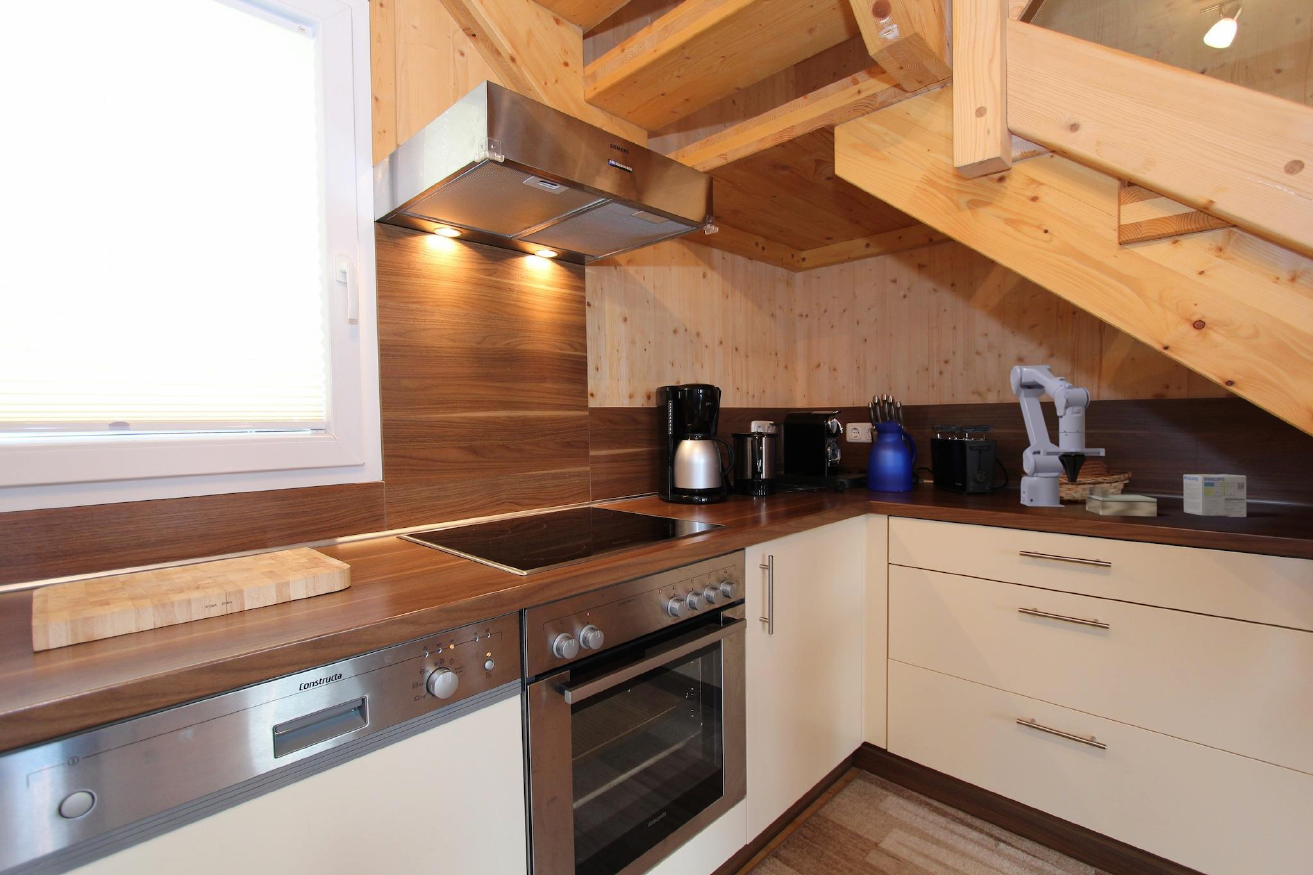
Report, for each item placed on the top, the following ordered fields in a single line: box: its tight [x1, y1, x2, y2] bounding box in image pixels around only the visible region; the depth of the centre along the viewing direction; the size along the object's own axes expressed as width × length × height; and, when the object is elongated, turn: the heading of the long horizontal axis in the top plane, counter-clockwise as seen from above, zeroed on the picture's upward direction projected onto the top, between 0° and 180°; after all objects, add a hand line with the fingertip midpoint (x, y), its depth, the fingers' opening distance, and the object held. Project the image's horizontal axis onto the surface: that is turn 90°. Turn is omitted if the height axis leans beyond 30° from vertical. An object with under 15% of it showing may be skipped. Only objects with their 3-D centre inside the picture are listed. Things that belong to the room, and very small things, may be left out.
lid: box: [1085, 486, 1157, 502], centre depth 158 cm, size 12×10×3 cm
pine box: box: [1085, 496, 1158, 517], centre depth 158 cm, size 12×10×4 cm
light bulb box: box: [1182, 473, 1247, 518], centre depth 154 cm, size 11×7×11 cm, turn 84°
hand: (1072, 482), depth 161 cm, fingers closed
